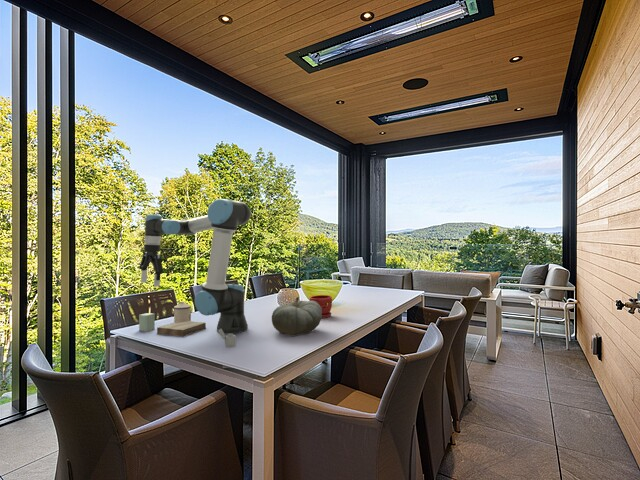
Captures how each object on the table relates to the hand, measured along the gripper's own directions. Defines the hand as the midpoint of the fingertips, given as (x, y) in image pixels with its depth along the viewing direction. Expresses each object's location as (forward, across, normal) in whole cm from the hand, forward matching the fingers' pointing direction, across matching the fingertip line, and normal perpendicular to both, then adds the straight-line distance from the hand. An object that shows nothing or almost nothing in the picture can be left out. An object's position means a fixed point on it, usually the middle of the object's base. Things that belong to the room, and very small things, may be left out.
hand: (150, 284), depth 181 cm
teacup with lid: (+22, +3, +18) cm, 29 cm away
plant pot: (+16, +59, +73) cm, 95 cm away
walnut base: (+21, +22, +6) cm, 31 cm away
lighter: (+18, +63, +2) cm, 65 cm away
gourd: (+16, +71, +37) cm, 82 cm away
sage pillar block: (+22, +5, -3) cm, 23 cm away
